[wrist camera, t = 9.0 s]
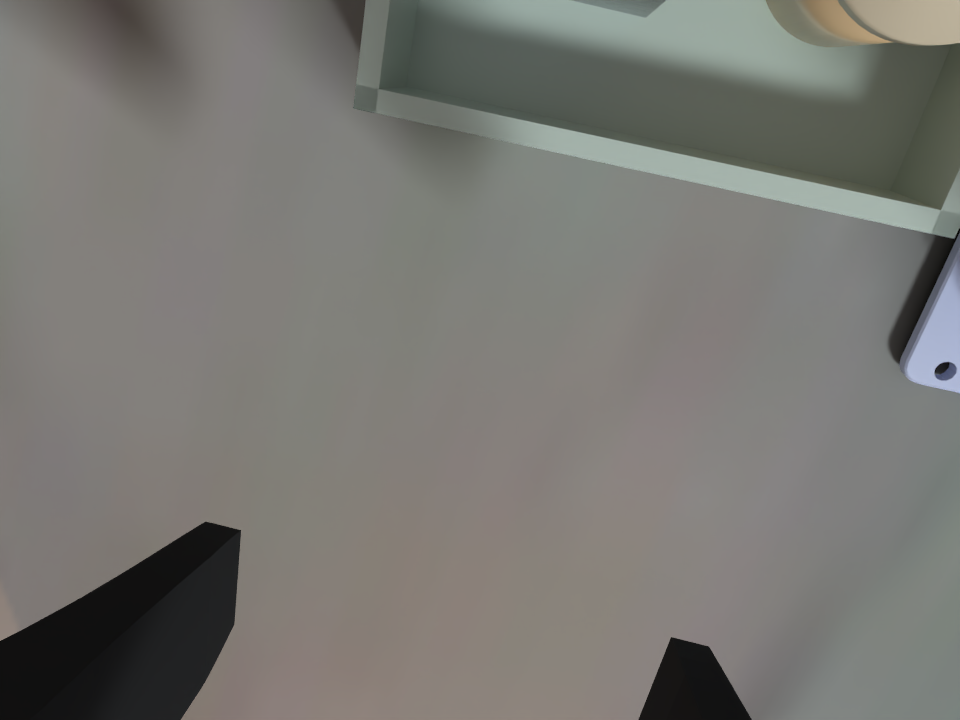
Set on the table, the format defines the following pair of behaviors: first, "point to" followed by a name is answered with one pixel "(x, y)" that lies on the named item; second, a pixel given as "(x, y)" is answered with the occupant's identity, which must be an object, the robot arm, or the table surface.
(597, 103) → the crate
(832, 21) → the jar
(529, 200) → the table surface
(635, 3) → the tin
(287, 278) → the table surface
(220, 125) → the table surface
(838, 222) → the table surface
